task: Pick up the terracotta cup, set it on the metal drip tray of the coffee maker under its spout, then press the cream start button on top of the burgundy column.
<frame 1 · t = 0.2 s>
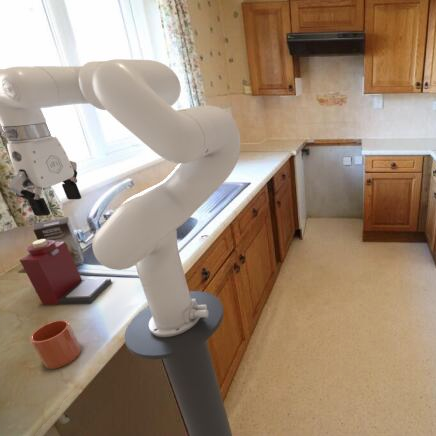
hand: (59, 206, 76), 32 cm above the counter, tool pointing down, fingers open, 9 cm apart
brew button: (40, 243, 90), point 17 cm above the counter, slide at 0.1 cm
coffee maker: (78, 293, 98), on the counter
cup: (63, 356, 75), on the counter
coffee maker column: (64, 293, 98), on the counter
coffee box: (69, 264, 113), on the counter
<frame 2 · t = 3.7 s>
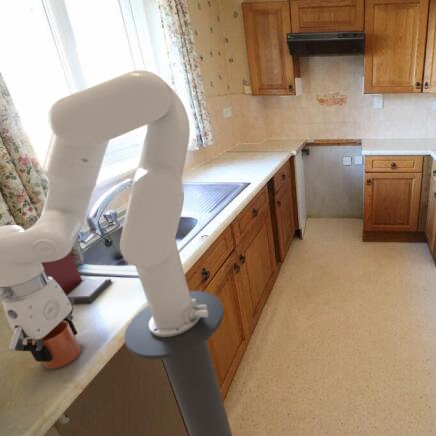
hand: (58, 346, 74), 3 cm above the counter, tool pointing down, fingers closed on cup, 6 cm apart
cup: (63, 356, 75), on the counter, touching gripper
everything else where it was.
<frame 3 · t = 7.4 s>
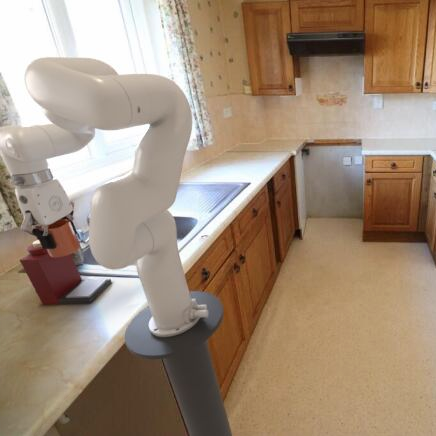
hand: (61, 240, 86), 20 cm above the counter, tool pointing down, fingers closed on cup, 6 cm apart
cup: (65, 250, 88), point 16 cm above the counter, touching gripper
everything else where it was.
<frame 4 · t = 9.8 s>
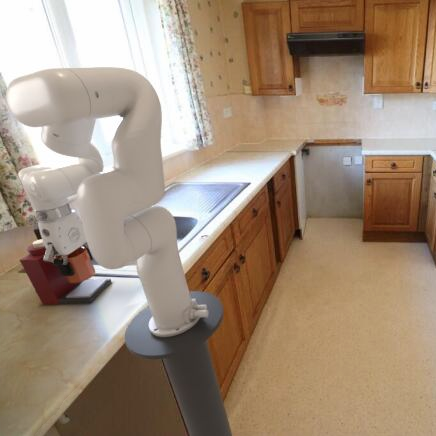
hand: (78, 267, 94), 9 cm above the counter, tool pointing down, fingers closed on cup, 6 cm apart
cup: (82, 276, 95), point 6 cm above the counter, touching gripper
everything else where it was.
when the fingers open (5 cm above the counter, at t = 11.4 s): cup stays where it is, resting on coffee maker.
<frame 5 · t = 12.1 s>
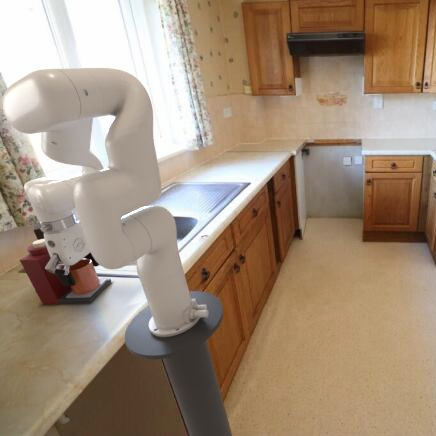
hand: (82, 275, 95), 7 cm above the counter, tool pointing down, fingers open, 9 cm apart
cup: (87, 287, 97), point 2 cm above the counter, touching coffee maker
everything else where it was.
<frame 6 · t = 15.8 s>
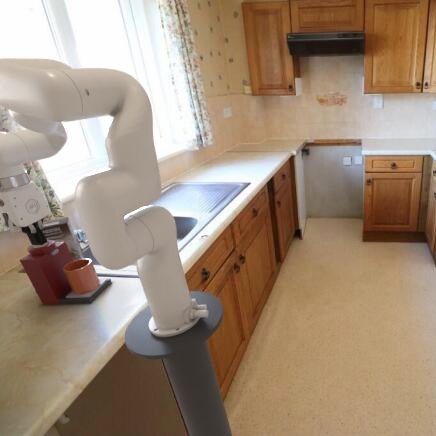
hand: (39, 243, 90), 17 cm above the counter, tool pointing down, fingers closed
brew button: (41, 246, 91), point 17 cm above the counter, slide at -0.7 cm, touching gripper
everything else where it was.
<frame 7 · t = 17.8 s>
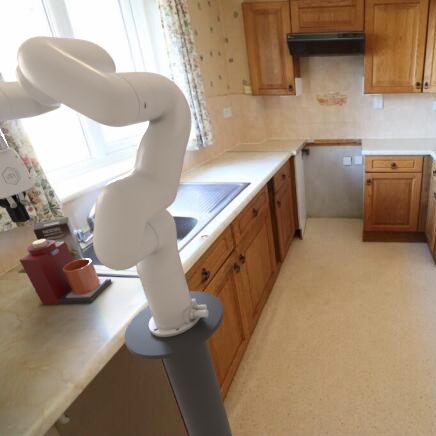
hand: (22, 220, 79), 28 cm above the counter, tool pointing down, fingers closed
brew button: (40, 243, 90), point 17 cm above the counter, slide at 0.1 cm
everything else where it was.
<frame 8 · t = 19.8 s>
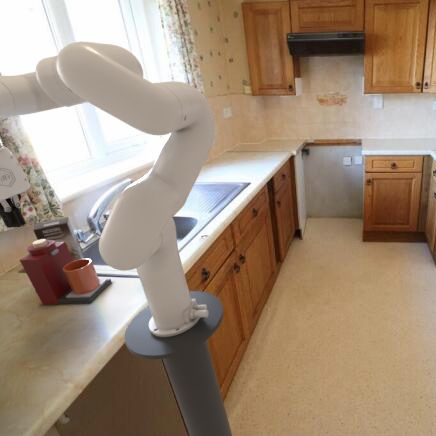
hand: (16, 225, 73), 29 cm above the counter, tool pointing down, fingers closed
nothing on the counter moved.
at the end: cup 0.1 cm from the target spot on the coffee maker, point 2.1 cm above the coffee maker's base; cup tilted 0°; brew button pushed in 1.1 cm at the most during the clip, back to where it started at the end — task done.
